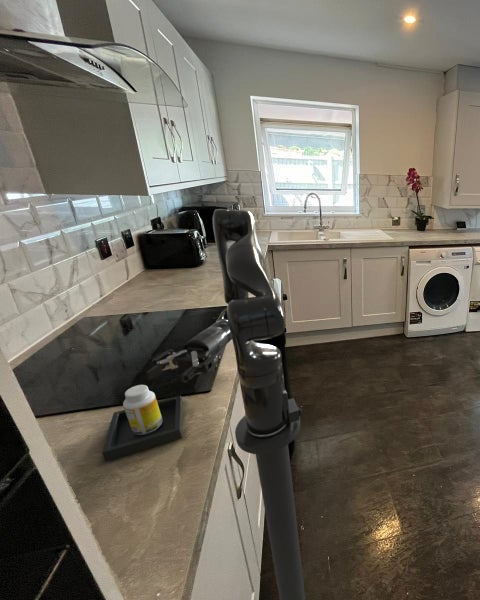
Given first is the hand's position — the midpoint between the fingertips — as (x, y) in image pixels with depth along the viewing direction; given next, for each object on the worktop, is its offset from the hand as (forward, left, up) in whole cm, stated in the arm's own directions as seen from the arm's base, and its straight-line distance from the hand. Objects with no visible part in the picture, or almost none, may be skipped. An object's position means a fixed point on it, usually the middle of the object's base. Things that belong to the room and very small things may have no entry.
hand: (165, 378), depth 77 cm
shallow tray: (+4, +6, -8) cm, 11 cm away
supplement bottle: (+4, +6, -8) cm, 11 cm away
